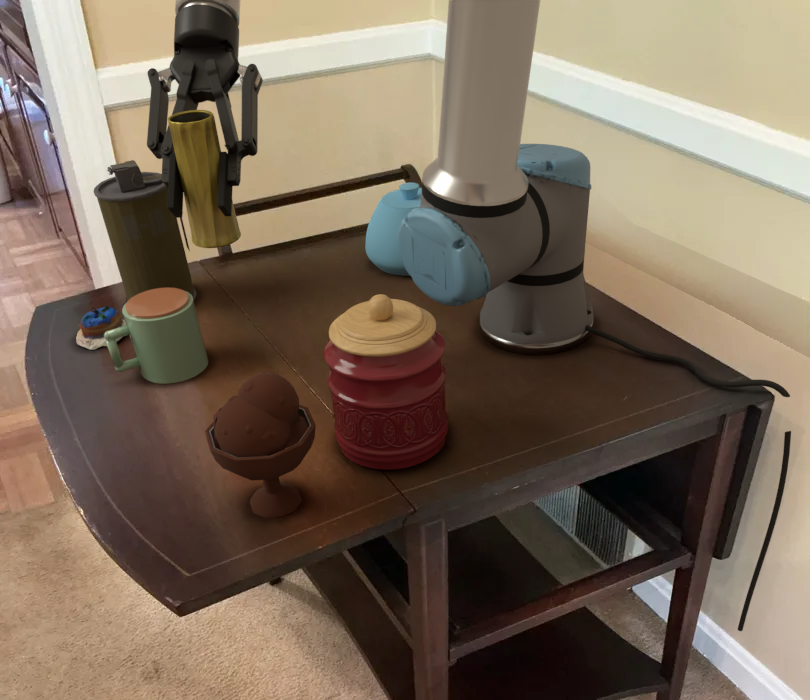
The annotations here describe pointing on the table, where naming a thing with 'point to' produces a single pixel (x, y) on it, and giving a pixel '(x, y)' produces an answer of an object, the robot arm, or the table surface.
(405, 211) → the sugar bowl
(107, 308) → the dessert
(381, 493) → the table surface
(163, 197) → the canister
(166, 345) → the mug
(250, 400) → the ice cream bowl
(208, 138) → the vase
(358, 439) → the kitchen canister
